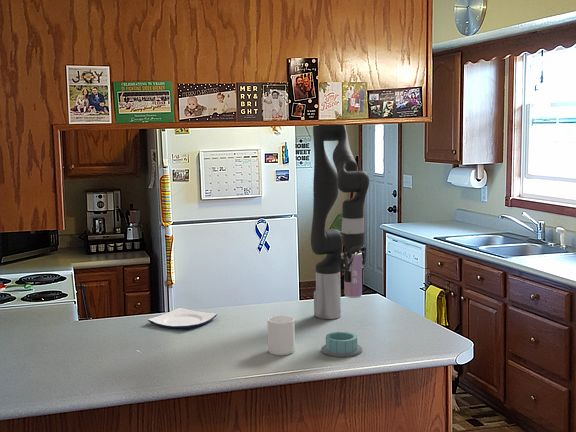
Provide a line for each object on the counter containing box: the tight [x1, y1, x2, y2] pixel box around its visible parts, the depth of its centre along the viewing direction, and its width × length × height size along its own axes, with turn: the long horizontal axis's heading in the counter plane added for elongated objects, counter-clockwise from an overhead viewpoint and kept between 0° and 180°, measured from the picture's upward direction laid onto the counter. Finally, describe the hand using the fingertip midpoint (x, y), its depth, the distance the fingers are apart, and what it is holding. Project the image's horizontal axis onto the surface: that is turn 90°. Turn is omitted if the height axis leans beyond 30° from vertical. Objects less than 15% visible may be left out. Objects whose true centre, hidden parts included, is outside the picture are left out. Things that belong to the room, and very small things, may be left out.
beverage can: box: [343, 253, 363, 299], centre depth 241 cm, size 6×6×15 cm
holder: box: [321, 331, 363, 359], centre depth 230 cm, size 13×13×5 cm
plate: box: [147, 307, 218, 330], centre depth 266 cm, size 20×20×3 cm
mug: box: [266, 315, 296, 356], centre depth 231 cm, size 9×12×11 cm
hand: (352, 279), depth 241 cm, fingers closed on beverage can, 6 cm apart
